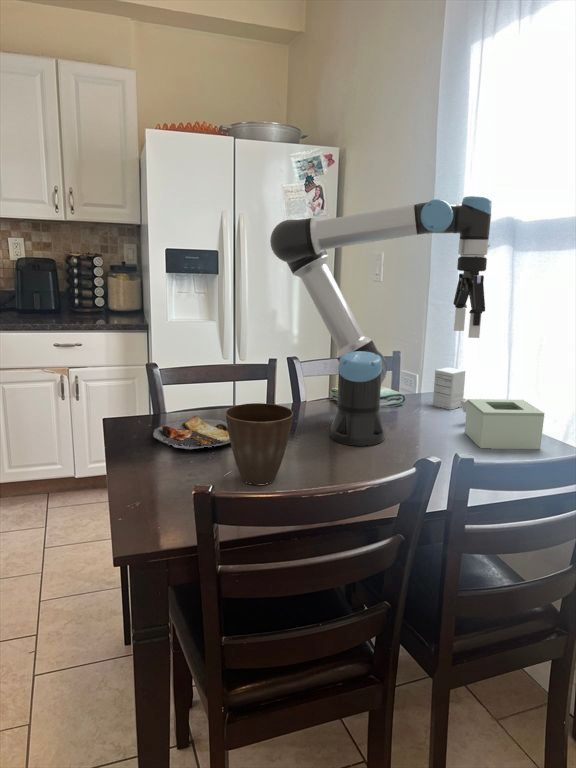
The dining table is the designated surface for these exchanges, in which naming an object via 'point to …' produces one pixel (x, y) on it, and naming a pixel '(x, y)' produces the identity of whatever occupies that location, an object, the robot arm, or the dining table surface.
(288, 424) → the plant pot
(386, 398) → the towel
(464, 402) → the lighter
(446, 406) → the supplement box
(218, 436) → the food plate
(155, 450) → the dining table surface
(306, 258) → the robot arm
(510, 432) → the box
